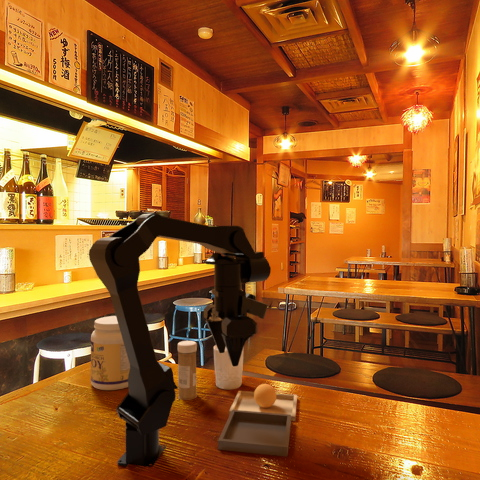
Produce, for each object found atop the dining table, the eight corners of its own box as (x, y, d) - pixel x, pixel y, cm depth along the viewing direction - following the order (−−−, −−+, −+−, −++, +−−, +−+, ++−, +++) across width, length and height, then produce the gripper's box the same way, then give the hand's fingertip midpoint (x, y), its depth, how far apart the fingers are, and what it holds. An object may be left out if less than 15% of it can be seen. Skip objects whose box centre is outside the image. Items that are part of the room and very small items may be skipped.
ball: (275, 413, 84) (275, 390, 83) (252, 410, 84) (252, 388, 84) (277, 402, 88) (277, 381, 88) (255, 400, 89) (255, 379, 89)
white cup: (245, 379, 104) (244, 342, 104) (242, 391, 96) (242, 351, 96) (216, 378, 105) (216, 342, 105) (211, 390, 97) (211, 350, 97)
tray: (295, 423, 80) (295, 416, 80) (229, 418, 82) (229, 411, 82) (297, 401, 91) (297, 394, 91) (238, 396, 93) (238, 390, 93)
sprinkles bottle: (200, 398, 92) (200, 342, 92) (185, 404, 89) (185, 346, 89) (189, 392, 96) (189, 338, 95) (174, 398, 92) (173, 342, 92)
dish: (287, 459, 67) (287, 447, 67) (218, 452, 69) (218, 440, 69) (291, 425, 79) (291, 414, 79) (232, 420, 81) (232, 409, 81)
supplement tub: (81, 384, 101) (81, 320, 101) (120, 371, 111) (120, 313, 111) (108, 396, 94) (108, 327, 94) (148, 381, 103) (148, 318, 103)
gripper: (281, 289, 75) (282, 368, 75) (248, 279, 93) (248, 343, 93) (227, 292, 71) (227, 376, 71) (202, 281, 89) (203, 348, 89)
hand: (228, 359), depth 81 cm, fingers open, 9 cm apart
